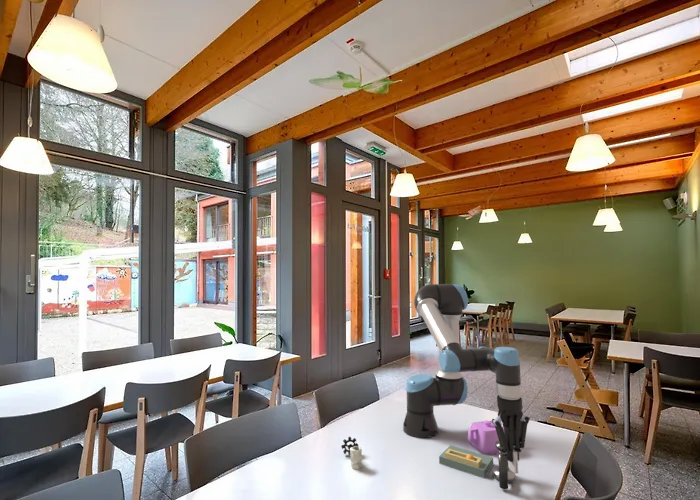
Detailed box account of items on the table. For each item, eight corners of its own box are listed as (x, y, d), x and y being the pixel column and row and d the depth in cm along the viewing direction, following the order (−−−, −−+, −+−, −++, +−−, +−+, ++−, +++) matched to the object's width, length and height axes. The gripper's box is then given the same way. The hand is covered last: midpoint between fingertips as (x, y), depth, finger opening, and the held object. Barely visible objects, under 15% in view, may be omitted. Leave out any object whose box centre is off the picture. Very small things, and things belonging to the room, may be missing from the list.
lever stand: (439, 463, 130) (439, 448, 130) (450, 451, 139) (450, 438, 139) (484, 478, 120) (483, 462, 121) (493, 464, 129) (492, 449, 130)
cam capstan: (493, 469, 125) (492, 437, 126) (515, 473, 123) (513, 441, 123) (491, 488, 114) (490, 454, 115) (516, 494, 111) (514, 458, 112)
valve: (367, 469, 127) (357, 453, 138) (366, 449, 127) (357, 435, 139) (349, 471, 125) (341, 455, 136) (349, 452, 125) (341, 437, 137)
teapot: (500, 439, 149) (499, 414, 150) (517, 451, 139) (516, 424, 140) (461, 444, 145) (461, 418, 146) (477, 457, 135) (476, 429, 136)
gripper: (517, 390, 122) (522, 462, 120) (485, 394, 119) (489, 468, 117) (534, 397, 115) (539, 474, 113) (499, 402, 112) (504, 480, 110)
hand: (513, 471), depth 115 cm, fingers closed
